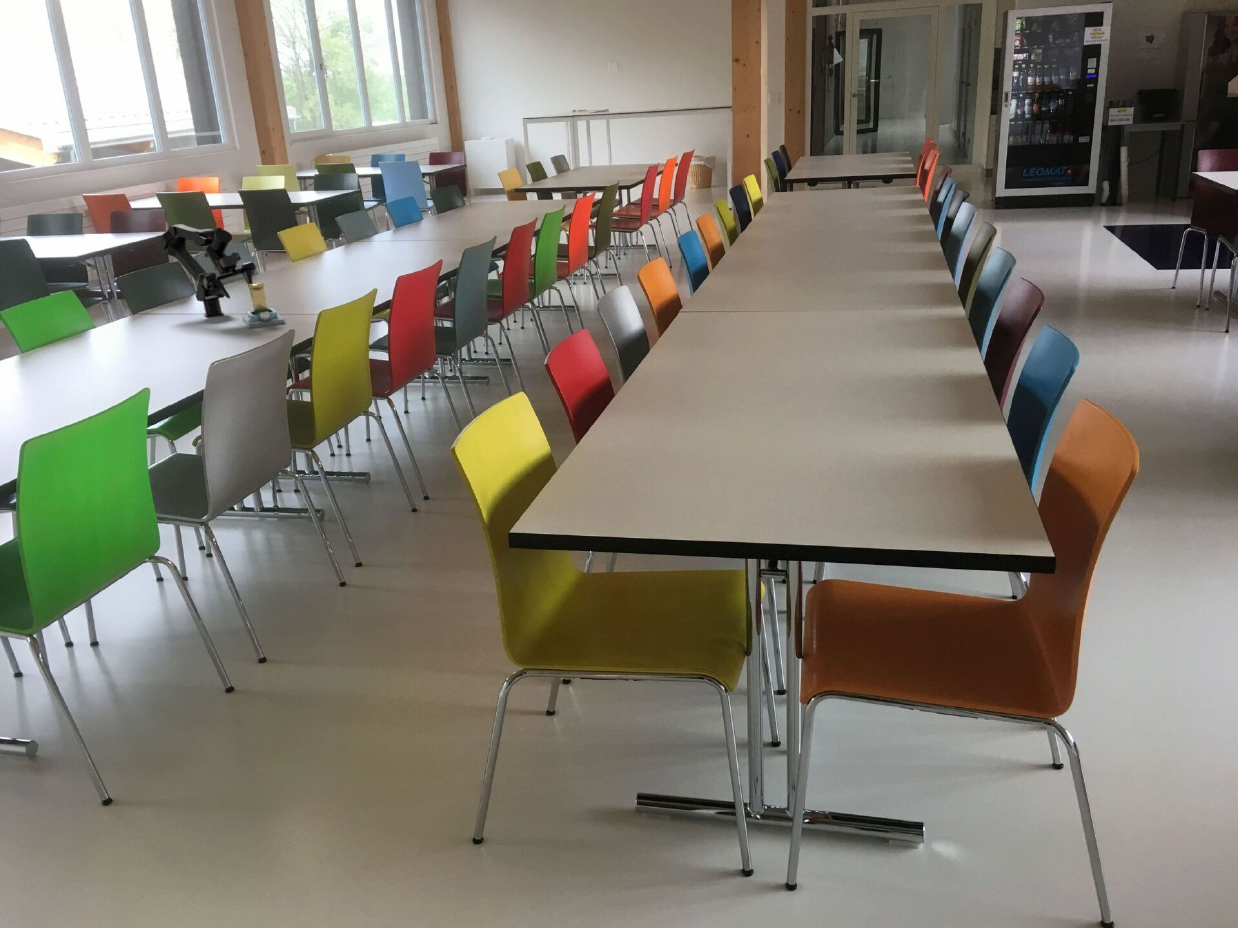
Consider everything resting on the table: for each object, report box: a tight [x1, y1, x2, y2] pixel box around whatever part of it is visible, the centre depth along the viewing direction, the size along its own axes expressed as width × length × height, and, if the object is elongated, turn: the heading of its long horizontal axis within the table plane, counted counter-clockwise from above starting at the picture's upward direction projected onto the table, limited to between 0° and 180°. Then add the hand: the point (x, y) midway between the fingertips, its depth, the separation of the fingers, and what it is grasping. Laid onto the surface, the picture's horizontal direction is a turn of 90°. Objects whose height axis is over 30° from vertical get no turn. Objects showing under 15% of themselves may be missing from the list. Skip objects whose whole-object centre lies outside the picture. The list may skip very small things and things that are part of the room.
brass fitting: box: [247, 282, 269, 315], centre depth 346 cm, size 5×5×12 cm
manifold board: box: [241, 307, 286, 329], centre depth 347 cm, size 18×12×4 cm, turn 28°
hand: (241, 294), depth 349 cm, fingers open, 9 cm apart
